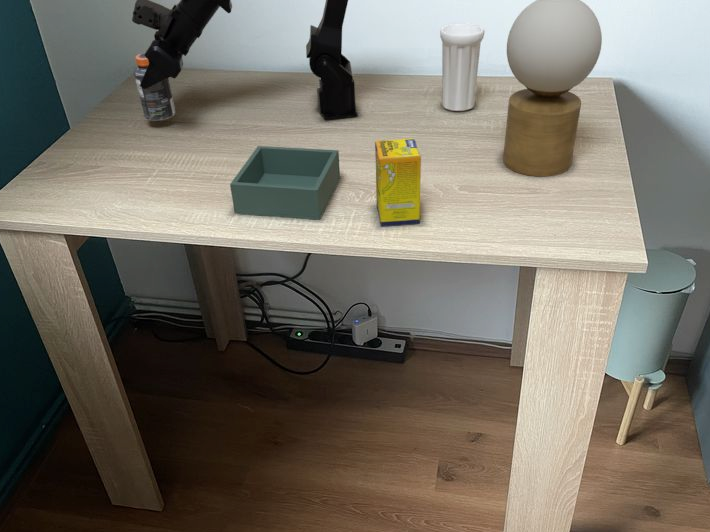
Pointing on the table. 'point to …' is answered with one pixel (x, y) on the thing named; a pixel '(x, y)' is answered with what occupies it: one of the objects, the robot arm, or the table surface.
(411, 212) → the supplement box
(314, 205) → the green square tray
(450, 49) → the cup
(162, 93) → the pill bottle
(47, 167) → the table surface
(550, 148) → the lamp
